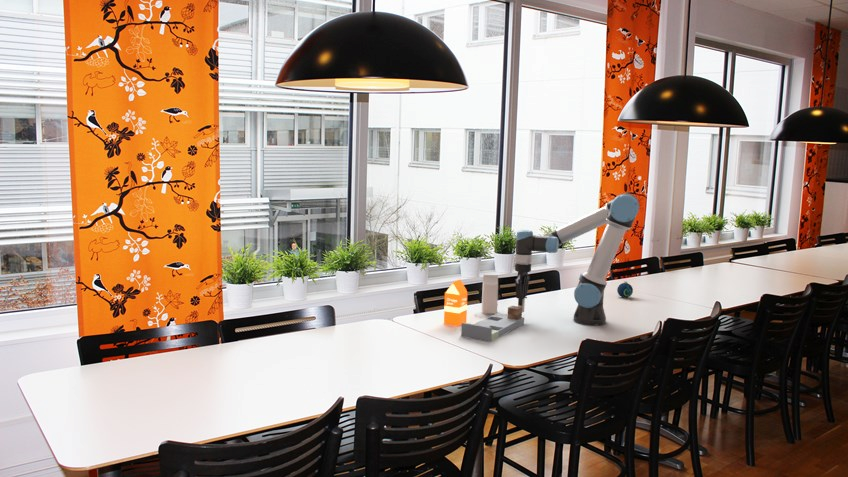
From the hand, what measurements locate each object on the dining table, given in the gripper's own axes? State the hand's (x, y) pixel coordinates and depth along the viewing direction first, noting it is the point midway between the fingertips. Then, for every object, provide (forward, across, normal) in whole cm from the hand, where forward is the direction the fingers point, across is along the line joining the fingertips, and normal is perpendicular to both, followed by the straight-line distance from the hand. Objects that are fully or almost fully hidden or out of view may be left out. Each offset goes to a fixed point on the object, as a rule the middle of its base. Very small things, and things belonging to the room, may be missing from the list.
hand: (520, 311), depth 315 cm
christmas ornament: (+5, -83, +27) cm, 88 cm away
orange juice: (+5, +22, -23) cm, 32 cm away
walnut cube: (+1, +7, 0) cm, 8 cm away
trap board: (+4, +22, -3) cm, 23 cm away
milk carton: (+5, -6, -20) cm, 21 cm away
